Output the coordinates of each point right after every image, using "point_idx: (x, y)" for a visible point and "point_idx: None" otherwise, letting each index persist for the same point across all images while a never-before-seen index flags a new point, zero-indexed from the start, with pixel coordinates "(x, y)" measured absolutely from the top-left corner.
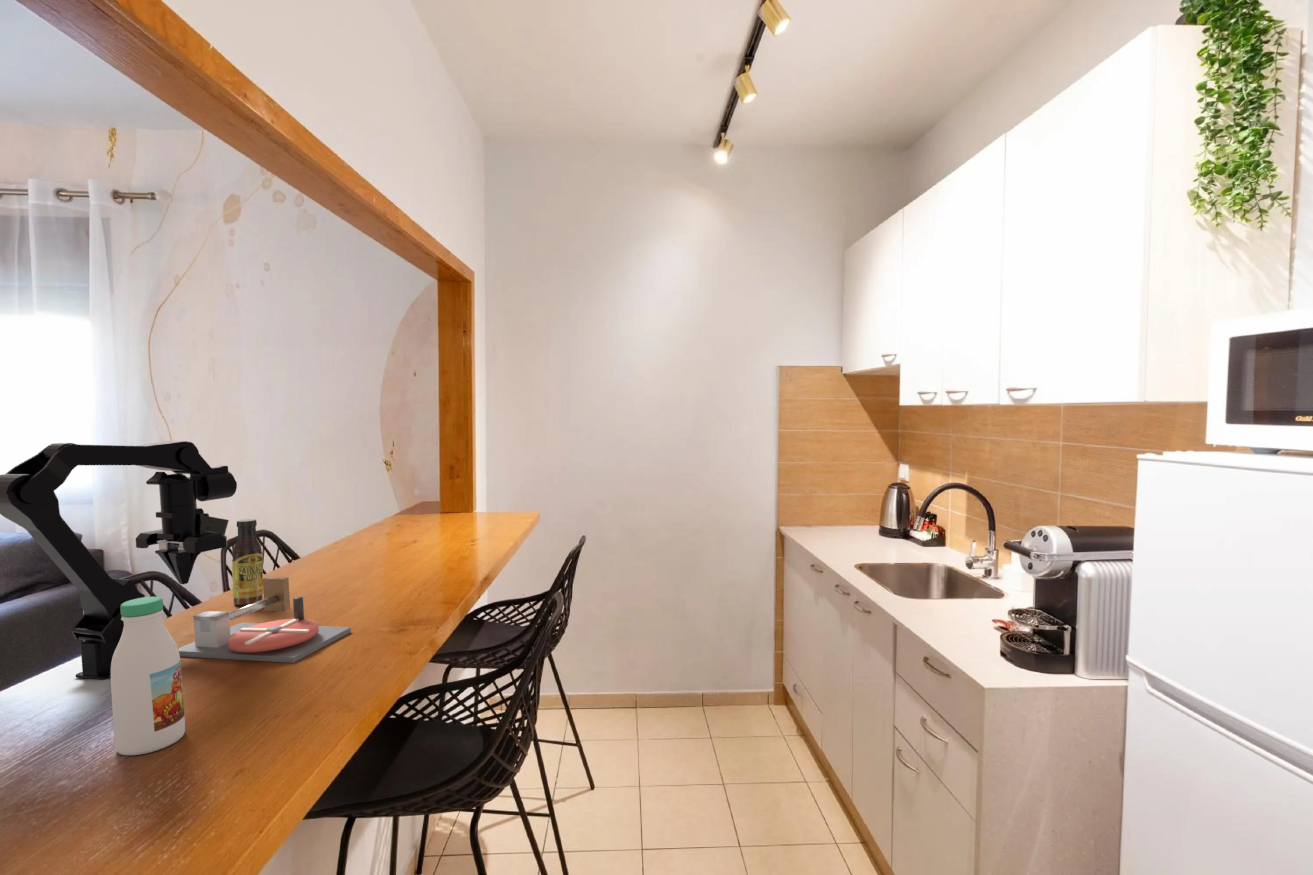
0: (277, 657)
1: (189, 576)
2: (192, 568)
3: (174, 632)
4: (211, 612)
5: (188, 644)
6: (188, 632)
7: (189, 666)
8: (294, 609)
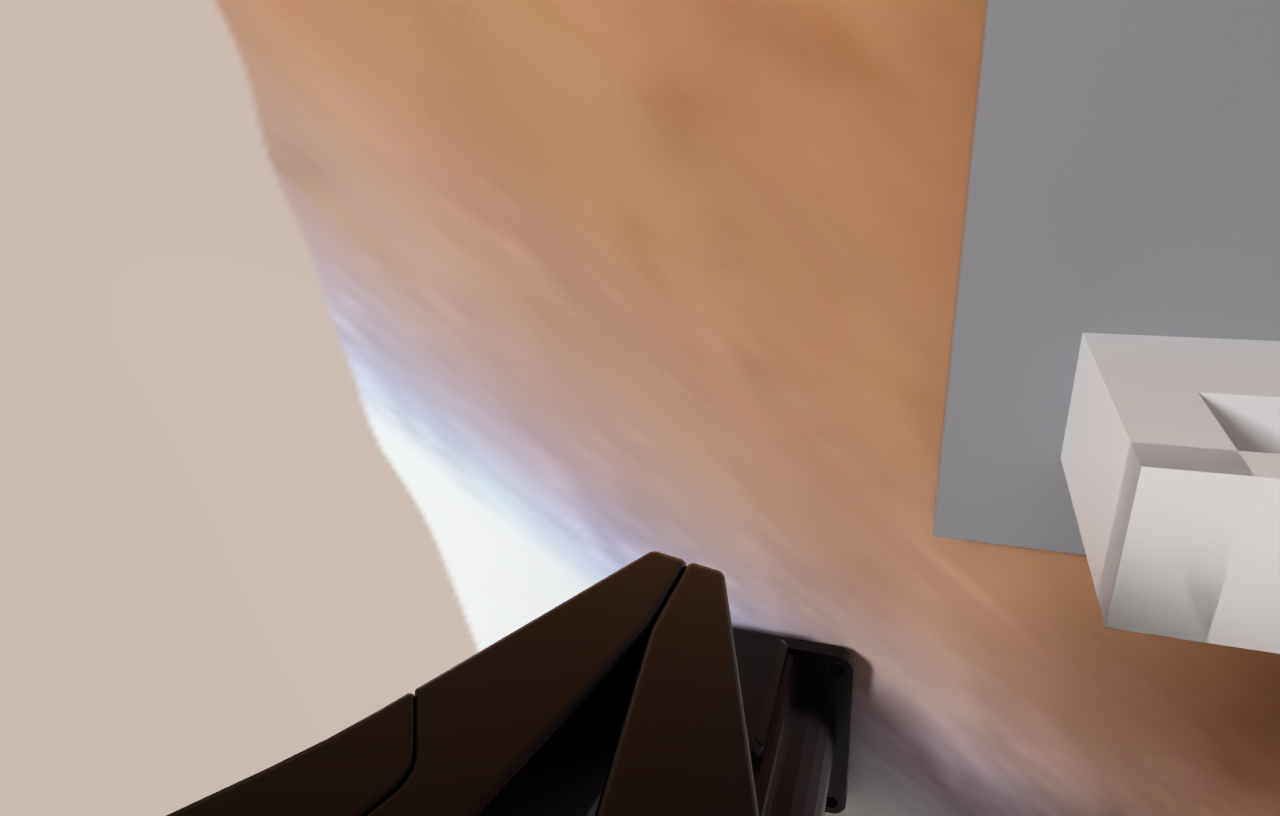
0: None
1: (731, 653)
2: (752, 780)
3: (464, 69)
4: (1266, 516)
5: (952, 419)
6: (576, 44)
7: (1255, 686)
8: None
